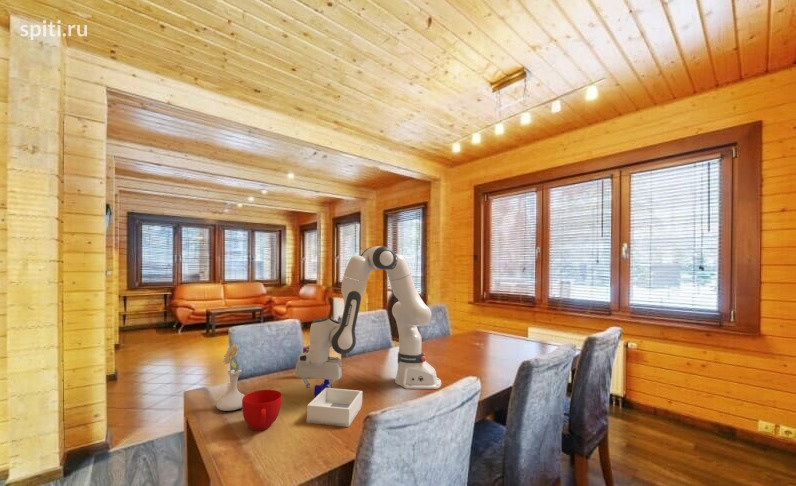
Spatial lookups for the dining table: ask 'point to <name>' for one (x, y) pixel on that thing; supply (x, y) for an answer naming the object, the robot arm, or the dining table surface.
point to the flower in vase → (233, 396)
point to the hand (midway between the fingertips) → (317, 388)
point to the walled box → (334, 407)
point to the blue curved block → (321, 387)
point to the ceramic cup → (261, 408)
